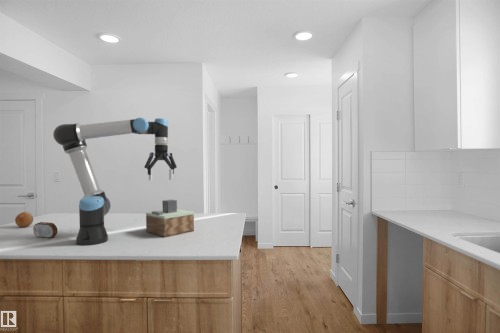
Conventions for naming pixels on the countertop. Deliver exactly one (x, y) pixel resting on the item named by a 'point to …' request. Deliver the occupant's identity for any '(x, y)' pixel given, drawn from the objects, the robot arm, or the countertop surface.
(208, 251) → the countertop surface
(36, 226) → the tin
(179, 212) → the lid
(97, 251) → the countertop surface
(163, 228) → the storage box
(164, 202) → the block
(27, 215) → the onion
